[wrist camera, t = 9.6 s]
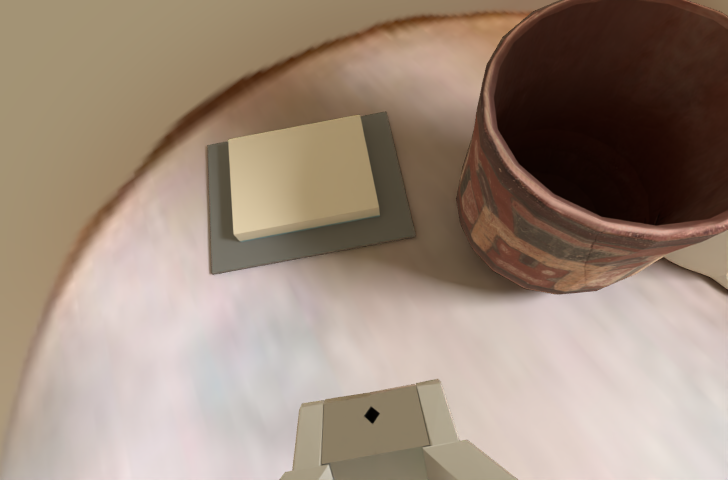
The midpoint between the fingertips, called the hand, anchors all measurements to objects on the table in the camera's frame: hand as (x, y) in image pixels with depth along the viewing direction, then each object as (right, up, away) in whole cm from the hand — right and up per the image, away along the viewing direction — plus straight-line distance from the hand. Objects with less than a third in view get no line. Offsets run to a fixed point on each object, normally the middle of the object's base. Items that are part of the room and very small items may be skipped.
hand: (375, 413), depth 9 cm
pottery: (+17, +5, +32) cm, 36 cm away
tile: (-6, +5, +32) cm, 33 cm away
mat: (-6, +9, +35) cm, 37 cm away
